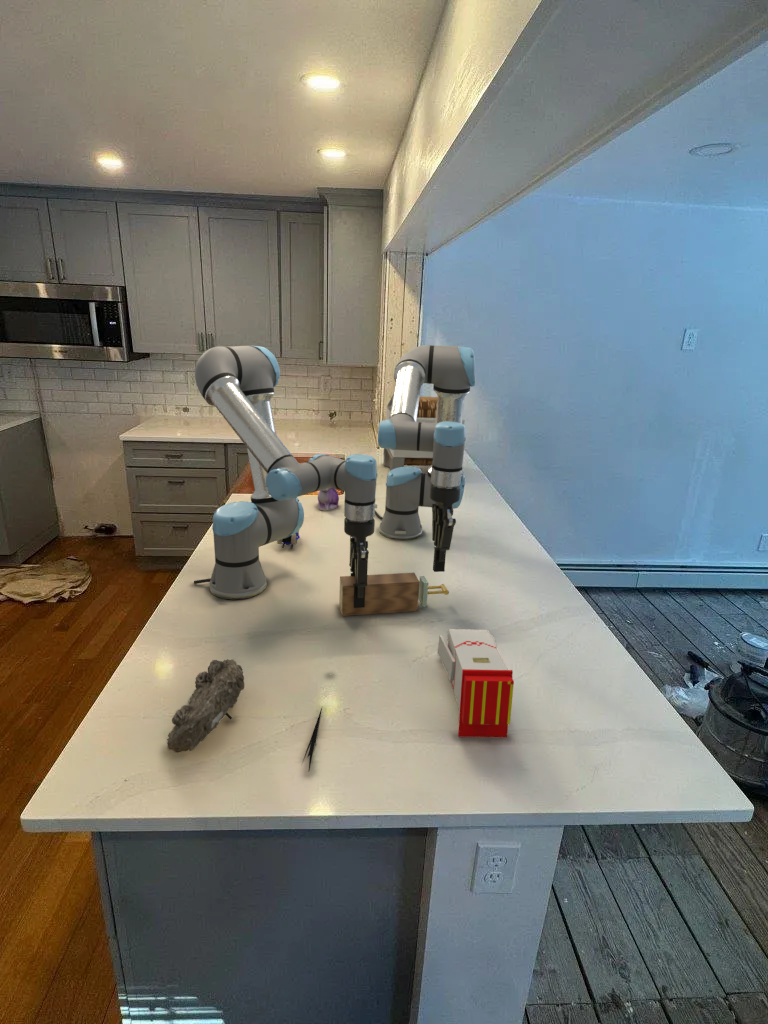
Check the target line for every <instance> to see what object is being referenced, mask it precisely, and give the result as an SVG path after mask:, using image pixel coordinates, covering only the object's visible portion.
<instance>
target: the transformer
mask: <svg viewBox="0 0 768 1024" xmlns="http://www.w3.org/2000/svg"><path fill="white" fill-rule="evenodd" d="M392 400H393V395H391V398H390V400H389V402H388V404H387V405H386V413H385V414H386V415H385V420H389V416H390V410H391V405H392ZM436 410H437V396H420V397H419V405H418V413H417V421H416V422H424V423H436ZM462 424H463V425H464V426H465V419H464V418H462ZM432 464H433V452H425V451H411V450H392V449H386V448H383V466H384V467H388V468H389V472H390V471H391V470H393V469H395V468H399V467H405V466H406V467H417V466H418V467H430V466H431V465H432Z"/></svg>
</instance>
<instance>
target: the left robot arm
mask: <svg viewBox="0 0 768 1024" xmlns="http://www.w3.org/2000/svg"><path fill="white" fill-rule="evenodd" d="M280 377H281V370H280V366H279V363H278V360H277V358H276V356H275V355H274V353H273V352H272V351H270V350H269V349H268V348H266V347H264V346H259V345H252V344H251V345H237V346H235V345H233V346H214V347H210V348H209V349H207V350H205V351H204V352H203V353H202V354H201V355H200V357H199V358H198V359H197V362H196V364H195V367H194V381H195V384H196V387H197V390H198V392H199V393H200V395H201V397H202V399H204V400H205V402H206V403H207V404H208V405H210V406H212V407H215V409H216V410H217V411H218V412H219V413H220V415H221V416H222V417H223V418H224V420H225V421H226V422H227V423H228V425H229V426H230V427H231V429H232V430H233V431H234V433H235V434H236V435H237V437H238V438H239V440H240V441H241V442H242V443H243V444H244V446H245V447H246V451H247V457H248V462H249V467H250V473H251V477H252V483H253V488H254V491H253V492H252V494H251V495H250V501H246V500H242V501H241V500H240V501H233V502H229V503H226V504H223V505H221V506H220V507H218V508H217V509H216V510H215V511H214V513H213V516H212V526H211V527H212V528H211V529H212V532H213V549H214V566H213V569H212V572H211V577H210V578H202V579H197V580H196V579H195V580H194V581H193V584H194V585H199V584H206V583H209V590H210V591H209V592H210V593H211V594H212V595H214V596H215V597H218V598H221V599H225V600H244V599H250V598H253V597H254V596H258V595H260V594H261V593H262V592H264V591H265V589H266V588H267V575H266V574H265V571H264V569H263V566H262V563H261V562H260V548H261V547H263V546H266V545H268V544H271V543H272V544H273V543H275V542H277V540H280V539H285V538H288V537H289V536H291V535H293V534H295V533H297V532H298V531H299V532H300V530H301V528H302V527H303V524H304V520H305V510H304V506H303V503H302V502H301V501H300V499H299V497H302V496H304V495H305V496H306V495H309V494H312V493H316V492H319V491H320V490H323V489H327V488H334V489H335V490H338V491H341V492H344V505H343V506H344V507H343V508H344V510H343V511H344V512H343V513H344V517H345V518H344V520H343V521H344V522H343V531H344V533H345V534H346V535H347V536H349V564H348V566H349V568H350V569H349V570H350V576H355V583H352V584H353V586H354V608H362V607H365V587H367V575H368V569H369V567H368V566H369V554H370V551H369V550H368V548H369V541H368V540H367V537H371V536H372V535H373V534H374V533H375V524H376V523H375V521H376V520H375V516H376V515H375V511H376V509H377V508H378V504H376V491H377V479H378V473H377V472H378V471H377V470H378V469H377V468H378V467H377V460H376V458H375V457H373V456H372V455H369V454H361V453H359V454H358V453H356V454H355V453H354V454H349V455H348V456H347V457H346V458H345V459H342V458H339V457H335V456H333V455H329V454H323V453H316V454H314V455H313V456H312V457H311V458H309V459H308V461H306V462H305V461H304V462H300V463H299V462H298V460H297V459H296V457H295V456H294V455H293V454H292V453H291V451H290V450H289V449H288V448H287V446H286V445H285V444H284V442H283V441H282V440H281V439H280V437H279V436H278V435H277V432H276V426H275V420H274V415H273V408H272V403H271V400H272V399H273V397H274V395H275V389H274V388H275V387H276V386H277V385H278V383H279V382H280V380H279V379H280Z"/></svg>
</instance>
